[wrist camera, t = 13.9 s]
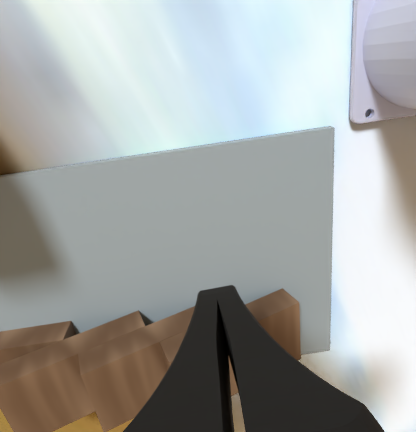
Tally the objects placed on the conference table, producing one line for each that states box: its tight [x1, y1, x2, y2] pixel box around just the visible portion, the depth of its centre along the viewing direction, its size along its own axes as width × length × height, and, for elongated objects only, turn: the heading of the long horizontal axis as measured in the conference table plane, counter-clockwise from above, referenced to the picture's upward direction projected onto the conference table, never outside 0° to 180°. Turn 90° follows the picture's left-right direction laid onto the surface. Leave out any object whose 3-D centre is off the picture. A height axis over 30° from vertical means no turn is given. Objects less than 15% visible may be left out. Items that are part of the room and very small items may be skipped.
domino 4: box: [160, 288, 301, 396], centre depth 22 cm, size 2×5×9 cm
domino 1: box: [0, 321, 77, 364], centre depth 23 cm, size 2×5×9 cm
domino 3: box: [78, 306, 195, 432], centre depth 22 cm, size 2×5×9 cm
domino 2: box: [0, 310, 145, 432], centre depth 22 cm, size 2×5×9 cm
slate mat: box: [0, 126, 334, 355], centre depth 23 cm, size 27×17×1 cm, turn 98°
